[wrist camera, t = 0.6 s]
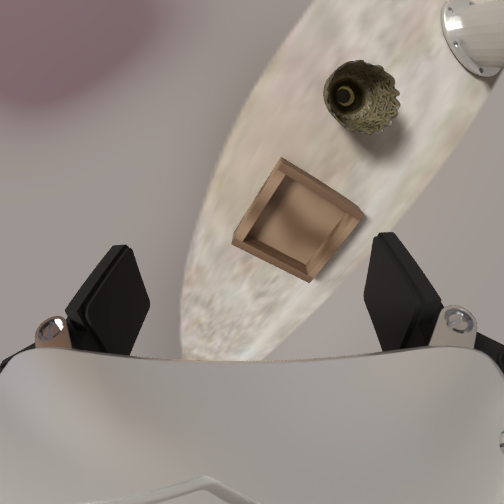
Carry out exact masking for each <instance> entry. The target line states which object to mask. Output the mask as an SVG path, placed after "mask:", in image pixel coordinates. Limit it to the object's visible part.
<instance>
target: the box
mask: <svg viewBox="0 0 504 504" xmlns="http://www.w3.org/2000/svg"><path fill="white" fill-rule="evenodd" d="M363 216H364V214H363V213H362V211H361V210H360V209H359V207H358V206H357V205H355V204H354V203H353V202H351V201H350V200H348V199H347V198H345V197H344V196H342V195H341V194H339V193H338V192H336V191H335V190H333V189H332V188H330V187H329V186H327V185H326V184H324V183H322V182H321V181H319V180H318V179H316V178H315V177H313V176H311V175H310V174H308V173H307V172H305V171H303V170H302V169H300V168H298V167H297V166H295V165H294V164H292V163H290V162H288V161H287V160H285V159H283V158H282V157H281V158H280V160H279V161H278V163H277V164H276V166H275V167H274V169H273V171H272V172H271V174H270V175H269V177H268V179H267V180H266V182H265V183H264V185H263V187H262V188H261V190H260V191H259V193H258V195H257V196H256V198H255V199H254V201H253V203H252V204H251V206H250V207H249V209H248V211H247V212H246V214H245V215H244V217H243V219H242V220H241V222H240V224H239V225H238V227H237V228H236V230H235V232H234V234H233V239H232V245H234V246H236V247H238V248H240V249H242V250H244V251H246V252H248V253H250V254H252V255H254V256H256V257H258V258H260V259H262V260H264V261H266V262H268V263H270V264H272V265H274V266H276V267H278V268H280V269H282V270H284V271H286V272H288V273H290V274H292V275H294V276H296V277H298V278H300V279H302V280H304V281H306V282H308V283H310V282H311V281H312V279H313V278H314V277H315V276H316V275H317V274H318V272H319V271H320V270H321V269H322V268H323V266H324V265H325V264H326V263H327V261H328V260H329V259H330V258H331V257H332V255H333V254H334V253H335V252H336V250H337V249H338V248H339V247H340V245H341V244H342V243H343V242H344V240H345V239H346V238H347V237H348V235H349V234H350V233H351V232H352V230H353V229H354V228H355V226H356V225H357V224H358V223H359V221H360V220H361V219H362V217H363Z"/></svg>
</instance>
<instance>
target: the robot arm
mask: <svg viewBox="0 0 504 504" xmlns="http://www.w3.org/2000/svg"><path fill="white" fill-rule="evenodd" d="M441 23H442V28H443V32H444V35H445V38H446V41H447V43H448V45H449V47H450V49H451V50H452V52H453V53H454V55H455V56H456V58H457V59H458V60H459V61H460V63H461V64H462V65H463V66H464V67H465V68H467V69H468V70H469V71H471V72H472V73H474V74H476V75H479V76H484V77H491V76H494V75H496V74H497V73H498V72H499V71H500V69H501V68H504V0H494V1H488V2H483V3H478V4H475V3H474V2H472V1H470V0H449V1H448V2H446V3H445V5H444V6H443V9H442V13H441ZM364 301H365V304H366V307H367V309H368V312H369V314H370V317H371V320H372V323H373V325H374V328H375V331H376V334H377V337H378V339H379V342H380V345H381V348H382V351H383V352H376V353H367V354H358V355H350V356H339V357H328V358H314V359H298V360H275V361H200V360H178V359H161V358H148V357H137V356H130V353H131V351H132V348H133V346H134V343H135V341H136V338H137V336H138V334H139V331H140V329H141V327H142V324H143V322H144V320H145V317H146V315H147V312H148V310H149V308H150V300H149V297H148V295H147V292H146V289H145V286H144V283H143V281H142V277H141V275H140V272H139V269H138V266H137V262H136V260H135V256H134V253H133V250H132V249H131V248H129V247H128V246H127V245H115V246H112V247H111V249H110V250H109V251H108V252H107V254H106V255H105V256H104V258H103V259H102V260H101V261H100V263H99V264H98V265H97V266H96V268H95V269H94V270H93V272H92V273H91V274H90V276H89V277H88V278H87V280H86V281H85V282H84V284H83V285H82V286H81V288H80V289H79V290H78V292H77V293H76V295H75V296H74V297H73V299H72V300H71V302H70V303H69V305H68V306H67V308H66V309H65V312H66V314H67V316H68V317H67V319H66V320H65V319H64V318H63V317H62V316H53V317H51V318H48V319H46V320H45V321H44V322H42V323H41V324H40V326H39V327H38V328H37V330H36V333H35V343H34V344H32V345H30V346H28V347H26V348H24V349H23V350H21V351H19V352H17V353H16V354H14V355H12V356H10V357H8V358H6V359H5V360H3V361H2V363H1V365H0V504H504V345H503V344H500V343H498V342H496V341H494V340H492V339H490V338H488V337H486V336H484V335H482V334H480V333H478V332H477V322H476V319H475V317H474V316H473V315H472V313H471V312H469V311H468V310H467V309H465V308H463V307H460V306H456V305H450V306H446V307H444V306H443V305H442V303H441V298H440V297H439V295H438V294H437V292H436V291H435V289H434V288H433V286H432V285H431V283H430V282H429V280H428V279H427V277H426V276H425V274H424V273H423V271H422V270H421V269H420V267H419V266H418V264H417V263H416V261H415V260H414V259H413V257H412V256H411V255H410V253H409V252H408V250H407V249H406V248H405V246H404V245H403V244H402V242H401V241H400V240H399V239H398V237H397V236H396V235H395V233H393V232H383V233H379V234H378V236H376V237H374V239H373V244H372V251H371V257H370V263H369V268H368V274H367V280H366V284H365V290H364Z"/></svg>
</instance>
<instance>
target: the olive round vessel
mask: <svg viewBox="0 0 504 504" xmlns="http://www.w3.org/2000/svg"><path fill="white" fill-rule="evenodd" d="M394 85H395V80H394V78H393V77H392V76H391V75H390V74H389V73H387V72H385V71H384V68H383V67H382V66H380V65H371V64H370V63H365V62H364V60H356V61H349V62H346V63H344V64H343V65H341V66H340V67H339V68H338V69H337V70H335V71H334V72H333V73H332V74H331V75H330V76H329V78H328V79H327V81H326V83H325V86H324V91H323V96H324V102H325V105H326V107H327V109H328V111H329V112H330V113H331V115H332V116H333V117H334V118H335V119H336V120H337V121H338V122H339V123H340V124H341V125H343V126H344V127H345V128H347V129H348V130H350V131H352V132H354V131H356V132H359V133H361V132H362V133H365V134H368V135H371V134H372V133H377V134H379V133H382V132H383V131H384V127H385V126H391V125H392V121H391V120H390V119H393V118H394V117H395V116H397V115H398V111H397V109H399V107H400V102H399V101H398V100H397V99H396V96H399V95H400V93H399V91H398V90H396V89H395V87H394ZM339 90H346V91H348V92H349V94H350V99H349V101H347V102H341V101H339V100H338V98H337V93H338V91H339Z"/></svg>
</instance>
